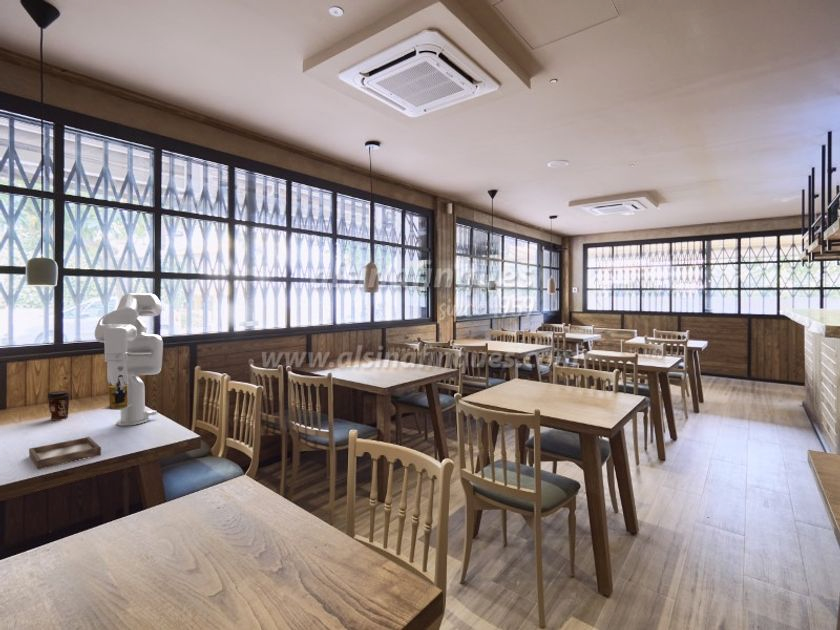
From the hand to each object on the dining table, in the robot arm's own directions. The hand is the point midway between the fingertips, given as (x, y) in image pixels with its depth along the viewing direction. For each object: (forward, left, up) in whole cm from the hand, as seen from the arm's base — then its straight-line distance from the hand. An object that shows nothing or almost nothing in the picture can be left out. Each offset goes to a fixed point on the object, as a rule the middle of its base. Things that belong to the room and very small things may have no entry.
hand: (117, 400), depth 174 cm
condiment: (0, -1, -3) cm, 3 cm away
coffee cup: (+9, -57, -18) cm, 60 cm away
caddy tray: (+17, +2, -17) cm, 25 cm away
